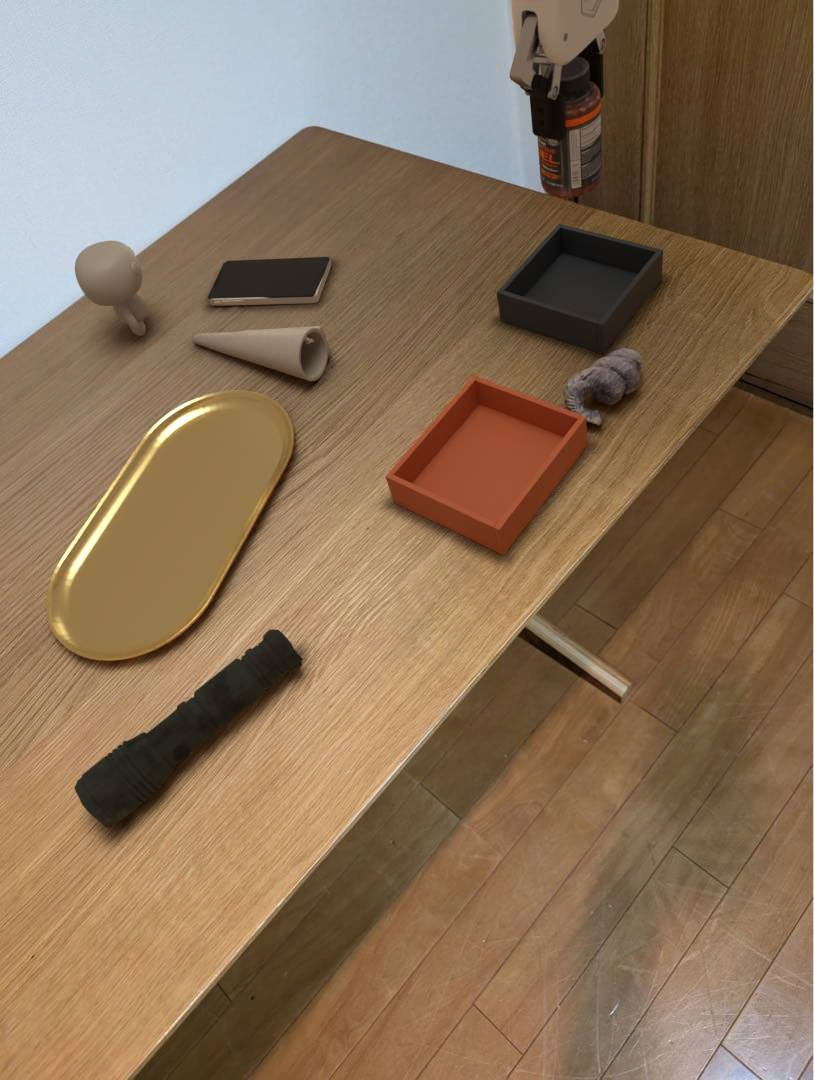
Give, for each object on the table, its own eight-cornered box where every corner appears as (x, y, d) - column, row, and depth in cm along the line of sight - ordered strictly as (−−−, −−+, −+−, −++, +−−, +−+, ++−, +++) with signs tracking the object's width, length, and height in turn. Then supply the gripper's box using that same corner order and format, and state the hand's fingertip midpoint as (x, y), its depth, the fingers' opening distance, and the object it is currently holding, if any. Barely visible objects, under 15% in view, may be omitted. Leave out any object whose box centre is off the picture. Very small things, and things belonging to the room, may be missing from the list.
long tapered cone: (158, 345, 101) (292, 350, 92) (187, 315, 105) (318, 316, 96) (179, 384, 105) (309, 392, 96) (206, 354, 108) (334, 358, 100)
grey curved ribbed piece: (580, 439, 87) (636, 380, 90) (608, 422, 82) (666, 361, 85) (545, 400, 86) (603, 343, 90) (571, 381, 81) (631, 321, 85)
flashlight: (93, 794, 73) (63, 774, 69) (283, 640, 78) (265, 613, 74) (119, 837, 70) (89, 818, 66) (313, 674, 76) (296, 648, 72)
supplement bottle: (528, 184, 85) (518, 70, 76) (577, 158, 86) (572, 42, 77) (565, 209, 82) (558, 92, 73) (615, 181, 83) (614, 62, 74)
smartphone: (315, 297, 105) (205, 300, 109) (318, 305, 106) (209, 307, 110) (330, 255, 110) (224, 259, 113) (332, 263, 111) (228, 267, 114)
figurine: (174, 335, 108) (131, 256, 99) (119, 358, 108) (70, 281, 98) (162, 301, 113) (120, 222, 103) (109, 323, 113) (62, 246, 103)
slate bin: (662, 280, 96) (663, 249, 93) (602, 354, 91) (602, 325, 88) (560, 252, 102) (558, 223, 99) (500, 320, 98) (496, 292, 94)
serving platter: (18, 641, 84) (9, 633, 83) (187, 390, 101) (181, 380, 100) (172, 688, 78) (164, 680, 76) (325, 410, 95) (321, 401, 94)
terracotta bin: (587, 445, 84) (586, 416, 81) (503, 555, 79) (499, 530, 76) (478, 402, 91) (473, 374, 88) (393, 502, 85) (384, 476, 82)
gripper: (539, -60, 59) (554, 176, 73) (657, -163, 66) (651, 73, 80) (451, -66, 63) (483, 161, 77) (572, -162, 69) (580, 64, 83)
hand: (568, 114), depth 78 cm, fingers closed on supplement bottle, 5 cm apart
